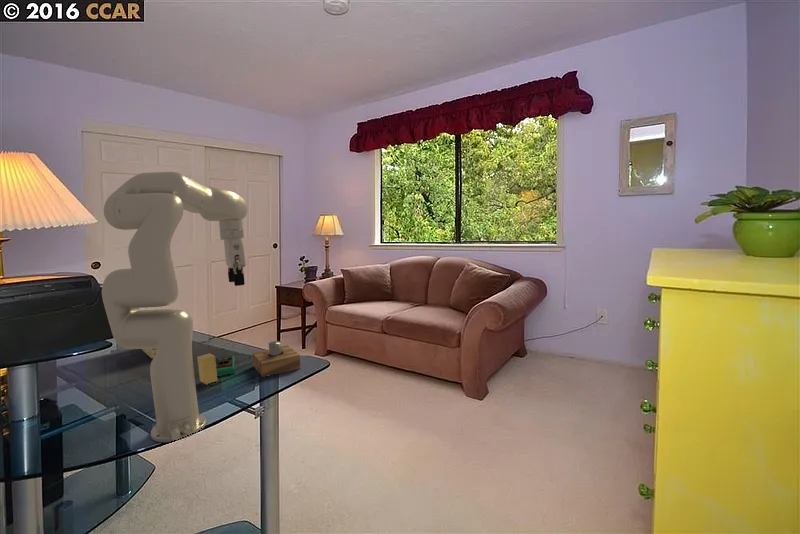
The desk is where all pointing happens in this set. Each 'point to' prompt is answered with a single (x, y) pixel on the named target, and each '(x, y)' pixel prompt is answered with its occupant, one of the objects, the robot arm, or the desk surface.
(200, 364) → the square bit
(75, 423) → the desk surface
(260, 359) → the bore block
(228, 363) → the digital multimeter
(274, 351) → the cylinder
